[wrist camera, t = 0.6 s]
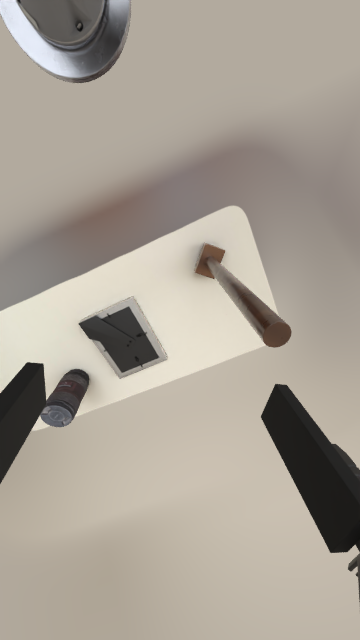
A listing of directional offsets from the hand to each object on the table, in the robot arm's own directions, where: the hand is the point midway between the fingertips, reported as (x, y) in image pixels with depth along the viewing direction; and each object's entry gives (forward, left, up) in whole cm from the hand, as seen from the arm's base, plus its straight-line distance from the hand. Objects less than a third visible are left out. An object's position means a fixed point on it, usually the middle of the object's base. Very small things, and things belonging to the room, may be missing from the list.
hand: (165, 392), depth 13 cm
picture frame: (+25, -4, -48) cm, 54 cm away
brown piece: (-3, +10, -47) cm, 49 cm away
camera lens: (+43, -15, -48) cm, 66 cm away
